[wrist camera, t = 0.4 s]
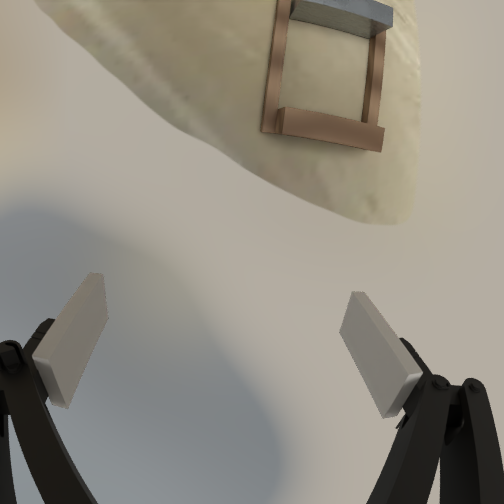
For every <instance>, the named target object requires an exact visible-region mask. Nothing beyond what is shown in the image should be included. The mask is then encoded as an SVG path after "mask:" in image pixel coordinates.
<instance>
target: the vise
mask: <svg viewBox="0 0 504 504" xmlns="http://www.w3.org/2000/svg"><path fill="white" fill-rule="evenodd" d="M290 6H291V0H277V6H276V14H275V21H274V29H273V37H272V44H271V52H270V60H269V67H268V75H267V83H266V91H265V99H264V106H263V114H262V122H261V130H260V131H261V132H269V133H276V134H283V135H290V136H297V137H303V138H309V139H315V140H321V141H326V142H331V143H337V144H342V145H347V146H352V147H356V148H361V149H366V150H370V151H376V152H381V150H382V144H383V137H384V130H385V128H382V127H379V126H377V122H378V115H379V107H380V98H381V89H382V79H383V68H384V56H385V41H386V30H385V31H383V32H381V33H379V34H377V35H375V36H373V37H371V38H370V43H369V56H368V67H367V78H366V87H365V96H364V104H363V112H362V120H361V122H359V121H355V120H351V119H346V118H342V117H337V116H333V115H328V114H323V113H318V112H313V111H307V110H302V109H296V108H290V107H284V108H281V109H278V102H279V94H280V86H281V78H282V70H283V63H284V55H285V46H286V38H287V30H288V22H289V14H290Z"/></svg>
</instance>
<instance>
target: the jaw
mask: <svg viewBox="0 0 504 504" xmlns="http://www.w3.org/2000/svg"><path fill="white" fill-rule="evenodd" d="M289 18H290V19H295V20H300V21H305V22H309V23H314V24H318V25H322V26H326V27H330V28H334V29H338V30H341V31H345V32H348V33H352V34H355V35H358V36H361V37H364V38H368V39H369V38H371V37H373V36H375V35H377V34H379V33H381V32H383V31H385V30H387V29H389V28H391V27H393V8H392V7H390V6H387V5H385V4H382V3H379V2H377V1H374V0H291V6H290V14H289Z"/></svg>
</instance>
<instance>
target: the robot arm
mask: <svg viewBox="0 0 504 504" xmlns="http://www.w3.org/2000/svg"><path fill="white" fill-rule="evenodd" d="M107 320H108V312H107V305H106V296H105V287H104V277H103V274H98V273H89V275H88V276H87V277H86V279H85V280H84V281H83V282H82V284H81V285H80V286H79V288H78V289H77V291H76V292H75V293H74V295H73V296H72V298H71V299H70V300H69V301H68V303H67V304H66V306H65V307H64V309H63V310H62V311H61V313H60V314H59V315H58V317H57V318H56V319H50V318H48V319H47V320H46V321H44V322H42V323H41V324H40V325H39V327H38V328H37V329H36V331H35V332H34V334H33V335H32V336H31V338H30V339H29V341H28V342H27V344H26V345H25V347H24V348H23V349H22V347H21V345H20V344H19V343H18V342H16V341H13V340H7V341H3V342H1V343H0V504H17V502H16V496H15V490H14V484H13V477H12V469H11V460H10V449H9V432H8V415H11V419H12V422H13V425H14V428H15V432H16V435H17V438H18V441H19V444H20V446H21V449H22V452H23V454H24V457H25V460H26V462H27V465H28V467H29V469H30V472H31V475H32V477H33V479H34V481H35V484H36V486H37V488H38V490H39V492H40V494H41V497H42V499H43V501H44V503H45V504H98V503H97V501H96V500H95V498H94V497H93V495H92V493H91V492H90V490H89V489H88V487H87V485H86V484H85V482H84V480H83V479H82V477H81V476H80V474H79V472H78V470H77V469H76V466H75V465H74V463H73V461H72V459H71V457H70V455H69V453H68V452H67V449H66V448H65V446H64V444H63V441H62V439H61V437H60V435H59V433H58V431H57V429H56V427H55V424H54V422H53V420H52V418H51V415H50V413H49V411H48V408H47V406H46V404H45V402H46V400H47V397H48V396H49V399H50V401H51V403H52V405H55V406H59V407H62V408H66V409H68V408H69V405H70V403H71V400H72V398H73V395H74V393H75V390H76V388H77V386H78V383H79V381H80V379H81V376H82V374H83V372H84V370H85V367H86V365H87V363H88V361H89V358H90V356H91V354H92V352H93V349H94V347H95V345H96V343H97V341H98V339H99V337H100V335H101V332H102V331H103V328H104V326H105V324H106V322H107ZM339 333H340V335H341V336H342V338H343V340H344V342H345V344H346V346H347V348H348V350H349V352H350V354H351V356H352V358H353V359H354V362H355V364H356V366H357V368H358V370H359V371H360V373H361V375H362V377H363V379H364V381H365V383H366V385H367V387H368V389H369V391H370V393H371V395H372V398H373V399H374V401H375V404H376V406H377V408H378V410H379V412H380V414H381V416H382V418H389V417H394V416H397V415H398V413H399V412H400V410H401V409H402V407H403V409H404V411H405V415H404V416H403V418H402V419H401V421H400V422H399V424H398V425H397V427H396V429H397V428H398V427H399V429H398V432H397V434H396V437H395V440H394V442H393V445H392V448H391V450H390V453H389V455H388V457H387V460H386V462H385V465H384V467H383V469H382V472H381V474H380V476H379V478H378V480H377V483H376V485H375V487H374V489H373V491H372V493H371V495H370V497H369V499H368V501H367V503H366V504H427V500H428V498H429V494H430V491H431V488H432V484H433V481H434V477H435V473H436V470H437V466H438V462H439V457H440V504H504V471H503V464H502V458H501V452H500V447H499V442H498V437H497V432H496V428H495V424H494V419H493V415H492V411H491V407H490V403H489V399H488V396H487V392H486V389H485V387H484V385H483V384H482V383H481V382H480V381H478V380H477V379H474V378H468V379H466V380H465V381H464V383H463V384H462V386H455V385H451V384H450V383H449V381H448V380H447V379H446V378H444V377H442V376H440V375H433V374H432V373H431V371H430V370H429V368H428V367H427V366H426V364H425V363H424V362H423V360H422V359H421V358H420V357H419V355H418V353H417V352H415V349H414V348H413V347H412V345H411V344H410V343H409V342H408V341H406V340H405V339H404V338H398V337H397V335H396V334H395V332H394V331H393V330H392V328H391V327H390V325H389V324H388V323H387V322H386V320H385V319H384V318H383V316H382V315H381V313H380V312H379V311H378V309H377V308H376V307H375V305H374V304H373V303H372V302H371V300H370V299H369V298H368V296H367V295H366V294H365V293H364V292H352V293H351V297H350V300H349V303H348V307H347V310H346V313H345V316H344V320H343V323H342V326H341V329H340V332H339Z"/></svg>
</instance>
